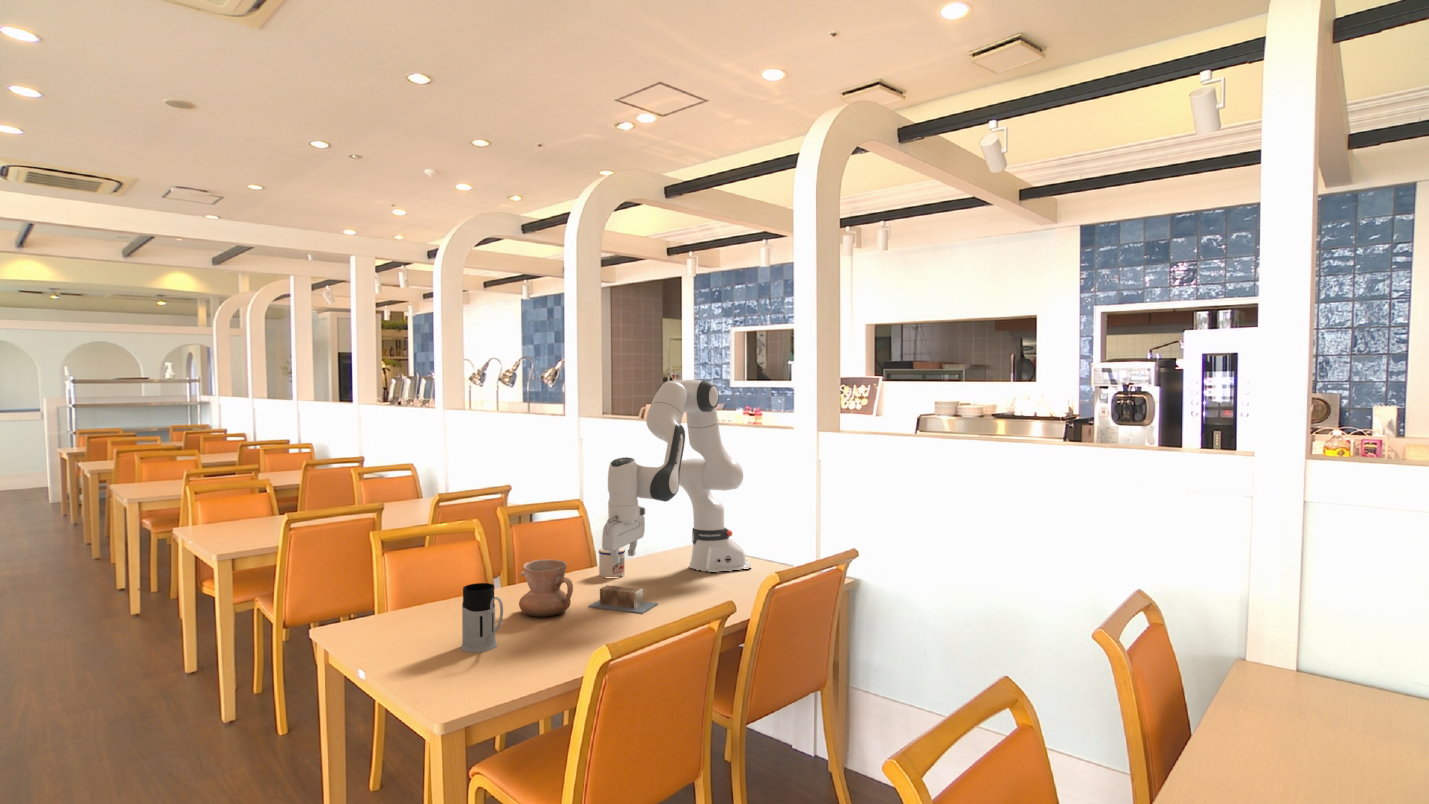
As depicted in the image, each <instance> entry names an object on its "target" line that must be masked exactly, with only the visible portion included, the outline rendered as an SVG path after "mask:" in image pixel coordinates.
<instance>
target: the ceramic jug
mask: <svg viewBox="0 0 1429 804" xmlns="http://www.w3.org/2000/svg"><path fill="white" fill-rule="evenodd" d="M522 570H523V571H521V573H520V575H521V576H523V577H525V580H526V583H527V586H528V588H529V589H530V590H529V591H527V592H526V593H525V594H523V595H522V596H521V597H520V599H519V602H518V607H519V609H520V611H521V612H522V613H524V614H526V615H529V616H530V617H531V616H533V617H538V618H539V617H540V618H541V617H551V616H555V615H556V616H557V615H559V614H562V613H564V612H565V611H567V610H568V609H569V607H570V606H571V604H572V603H571V598H572V595H573V592H574V584H573V582H572V580H571V579H570V578H568V577H565V575H566V571H567V562H566V561H564V560H559V559H537V560H536V559H535V560H532V561H531V562H525V563H524V564H523V569H522ZM564 583H565V584H566V586H567V588H566V589H567V591H566V592H565V591H564V590H562V589H561V586H562V584H564Z"/></svg>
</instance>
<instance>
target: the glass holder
mask: <svg viewBox="0 0 1429 804" xmlns="http://www.w3.org/2000/svg"><path fill="white" fill-rule="evenodd" d="M495 600H497V601H498V604H499V611H500V612H499V617H498V618H499V619H498V622H497V625H496V604H495ZM461 606H462V607H461V609H462V610H461V611H462V612H461V613H462V614H461V615H462V616H461V619H462V620H461V623H462V625H461V626H462V631H461V632H462V633H461V634H462V641H461V642H462V643H461V645H460V650H461V651H463V652H465V653H470V654H471V653H473V654H475V653H484V652H487V651H492V650H494V649H495V648H497V647H498V643H497V641H496V633H497V631H498V630H499V629H500V628H501V624H502V622H503V618H504V617H503V615H504V604H503V601H502V598H500V597H498V596H495V585H494V584H493V583H490V582H489V583H487V582H477V583H471V584H467V585H465V586H463V587H462V605H461Z"/></svg>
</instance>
